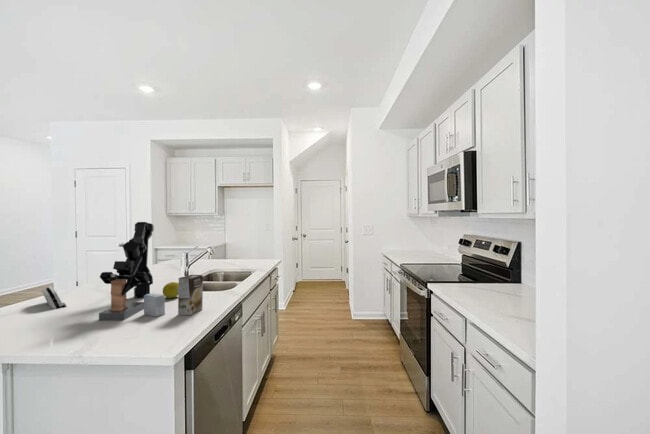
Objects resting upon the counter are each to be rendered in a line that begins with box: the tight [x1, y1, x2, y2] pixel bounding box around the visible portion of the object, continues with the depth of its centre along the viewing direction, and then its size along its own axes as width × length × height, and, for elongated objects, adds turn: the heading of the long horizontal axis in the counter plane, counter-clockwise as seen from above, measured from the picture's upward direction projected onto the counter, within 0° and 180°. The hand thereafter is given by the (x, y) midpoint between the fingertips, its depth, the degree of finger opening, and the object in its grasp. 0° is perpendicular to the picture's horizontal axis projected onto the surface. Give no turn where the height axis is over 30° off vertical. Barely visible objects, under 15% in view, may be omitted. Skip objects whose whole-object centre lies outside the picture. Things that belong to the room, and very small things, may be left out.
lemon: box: [162, 281, 179, 299], centre depth 166 cm, size 11×8×8 cm
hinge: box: [41, 285, 68, 310], centre depth 151 cm, size 17×5×10 cm, turn 48°
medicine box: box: [143, 292, 166, 318], centre depth 138 cm, size 8×4×9 cm, turn 65°
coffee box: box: [177, 274, 204, 316], centre depth 142 cm, size 9×6×16 cm
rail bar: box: [98, 301, 144, 321], centre depth 138 cm, size 16×10×3 cm, turn 3°
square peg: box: [110, 279, 127, 311], centre depth 135 cm, size 4×4×12 cm
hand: (116, 294), depth 134 cm, fingers closed on square peg, 4 cm apart
